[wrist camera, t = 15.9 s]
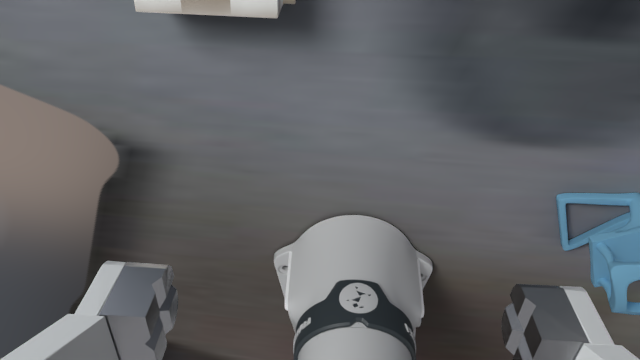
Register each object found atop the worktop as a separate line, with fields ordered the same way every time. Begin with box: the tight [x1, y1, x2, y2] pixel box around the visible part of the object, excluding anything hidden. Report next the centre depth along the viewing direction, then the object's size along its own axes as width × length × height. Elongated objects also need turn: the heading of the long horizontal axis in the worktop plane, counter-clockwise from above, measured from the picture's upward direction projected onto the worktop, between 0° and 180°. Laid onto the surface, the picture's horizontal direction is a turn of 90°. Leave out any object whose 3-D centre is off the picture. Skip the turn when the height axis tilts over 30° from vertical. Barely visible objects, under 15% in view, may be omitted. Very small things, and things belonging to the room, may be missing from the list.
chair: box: [556, 193, 640, 315], centre depth 49 cm, size 8×8×12 cm
